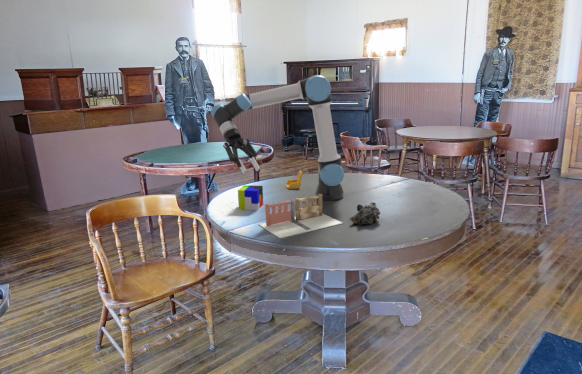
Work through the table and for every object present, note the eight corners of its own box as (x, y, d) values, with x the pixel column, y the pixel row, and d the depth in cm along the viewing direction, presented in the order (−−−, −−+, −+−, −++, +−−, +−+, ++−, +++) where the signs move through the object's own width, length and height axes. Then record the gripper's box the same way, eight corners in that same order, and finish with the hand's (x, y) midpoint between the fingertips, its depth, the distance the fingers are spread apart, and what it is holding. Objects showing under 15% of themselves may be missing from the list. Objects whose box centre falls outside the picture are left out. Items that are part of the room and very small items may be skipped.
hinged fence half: (293, 218, 203) (292, 198, 200) (295, 220, 201) (295, 199, 199) (265, 224, 196) (264, 204, 194) (267, 226, 194) (266, 205, 192)
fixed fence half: (320, 213, 210) (320, 193, 208) (323, 215, 209) (323, 194, 206) (294, 219, 203) (294, 198, 201) (297, 220, 202) (296, 199, 199)
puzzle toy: (258, 210, 220) (257, 190, 218) (238, 209, 222) (237, 190, 220) (263, 204, 230) (262, 185, 227) (244, 203, 232) (243, 185, 229)
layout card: (318, 212, 214) (318, 211, 214) (342, 223, 197) (342, 222, 197) (258, 224, 199) (258, 223, 199) (279, 238, 182) (279, 237, 182)
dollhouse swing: (285, 185, 268) (284, 170, 265) (300, 184, 268) (300, 169, 266) (287, 189, 257) (286, 174, 255) (303, 188, 258) (302, 173, 256)
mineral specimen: (349, 205, 207) (360, 190, 201) (373, 217, 208) (384, 203, 202) (346, 225, 195) (357, 210, 189) (371, 238, 196) (383, 223, 190)
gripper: (244, 135, 221) (265, 172, 213) (209, 140, 209) (230, 179, 201) (250, 125, 216) (271, 162, 208) (214, 129, 203) (236, 169, 196)
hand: (251, 170), depth 204 cm, fingers open, 7 cm apart
